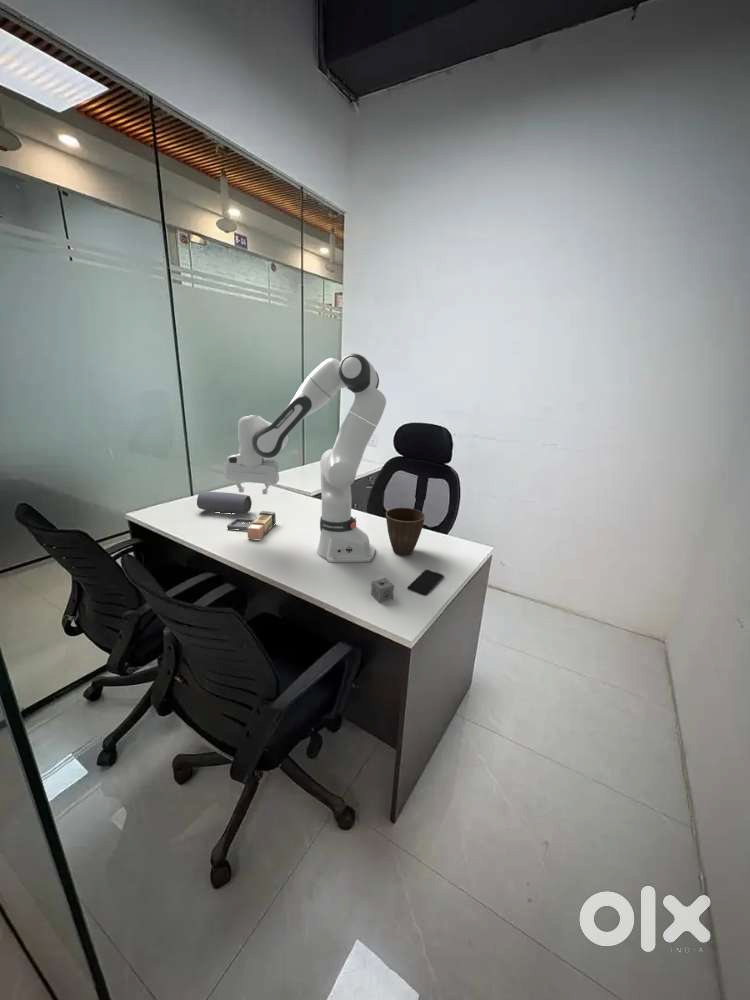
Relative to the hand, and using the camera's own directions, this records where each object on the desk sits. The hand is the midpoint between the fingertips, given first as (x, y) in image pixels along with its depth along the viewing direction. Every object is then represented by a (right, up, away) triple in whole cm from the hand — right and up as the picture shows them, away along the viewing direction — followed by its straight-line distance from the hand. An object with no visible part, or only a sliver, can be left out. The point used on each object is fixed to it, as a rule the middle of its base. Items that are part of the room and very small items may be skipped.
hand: (253, 493), depth 143 cm
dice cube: (+50, -33, -29) cm, 67 cm away
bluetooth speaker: (-23, -9, +30) cm, 39 cm away
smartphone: (+65, -31, -20) cm, 75 cm away
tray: (-10, -14, +16) cm, 24 cm away
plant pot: (+59, -23, +1) cm, 63 cm away
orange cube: (-1, -18, +6) cm, 19 cm away
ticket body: (0, -15, +15) cm, 21 cm away
